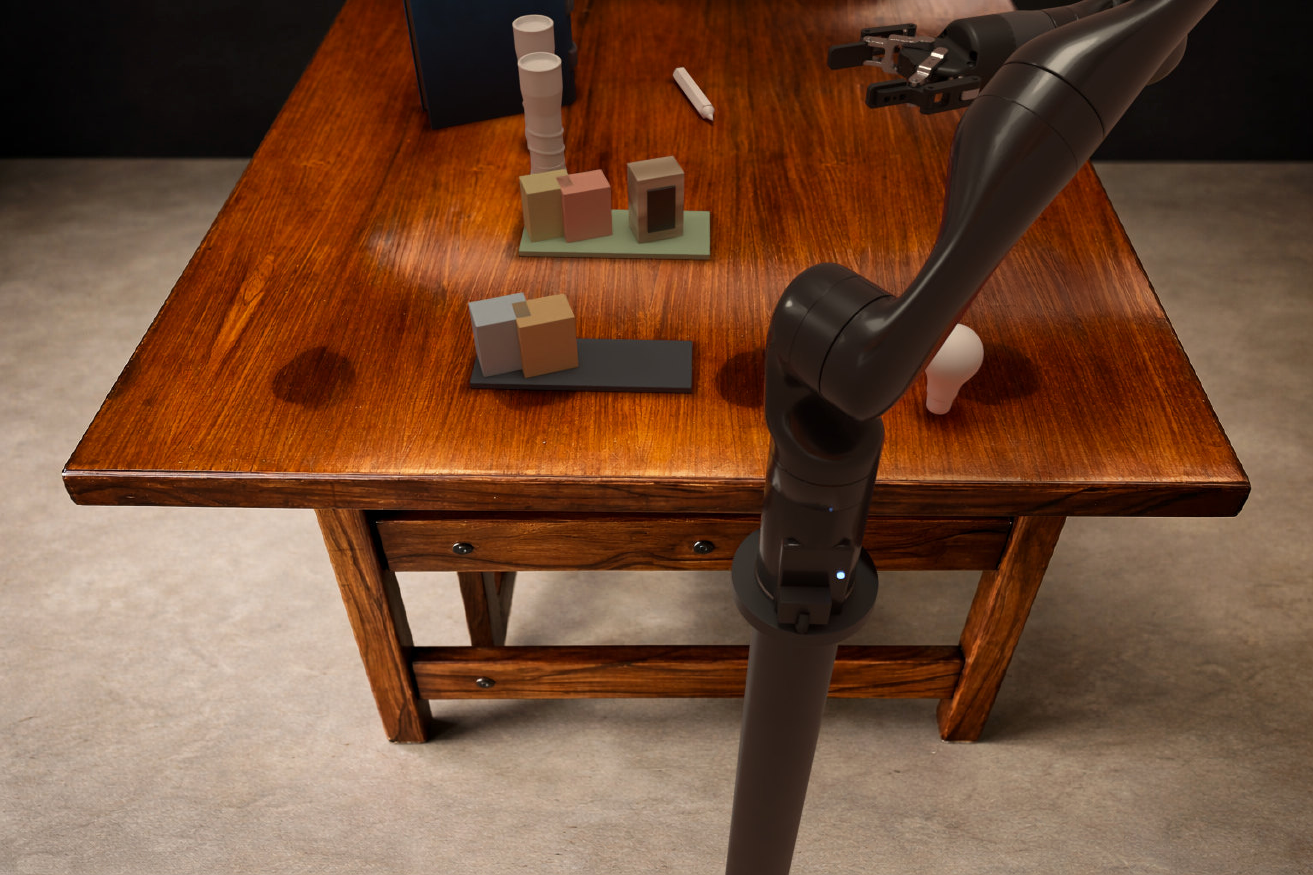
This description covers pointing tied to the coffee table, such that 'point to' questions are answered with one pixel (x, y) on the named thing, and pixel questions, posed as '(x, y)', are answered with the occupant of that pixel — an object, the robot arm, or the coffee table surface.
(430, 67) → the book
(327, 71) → the coffee table surface
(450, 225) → the coffee table surface
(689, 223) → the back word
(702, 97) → the marker
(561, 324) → the blocks on base plate
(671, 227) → the tall taupe block
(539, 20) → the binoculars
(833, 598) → the robot arm
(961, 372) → the lightbulb
